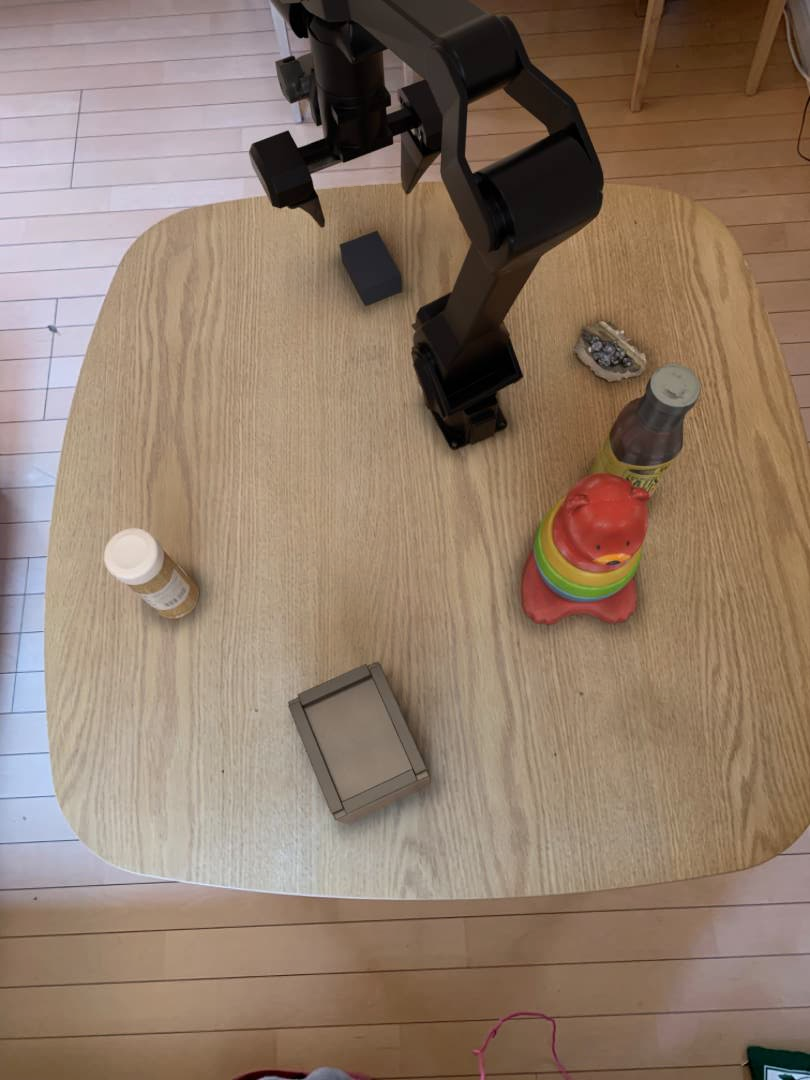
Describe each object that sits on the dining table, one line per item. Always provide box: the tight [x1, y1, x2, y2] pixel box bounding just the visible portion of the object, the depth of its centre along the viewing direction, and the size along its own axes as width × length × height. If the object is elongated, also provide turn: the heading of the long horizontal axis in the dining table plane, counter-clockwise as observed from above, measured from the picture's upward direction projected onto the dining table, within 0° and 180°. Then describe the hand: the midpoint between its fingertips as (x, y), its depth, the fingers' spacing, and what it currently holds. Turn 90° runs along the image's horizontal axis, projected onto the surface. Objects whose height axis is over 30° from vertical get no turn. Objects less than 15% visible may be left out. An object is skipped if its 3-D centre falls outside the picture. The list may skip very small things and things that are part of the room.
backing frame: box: [287, 661, 431, 825], centre depth 71 cm, size 10×8×11 cm
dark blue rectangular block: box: [339, 230, 403, 307], centre depth 93 cm, size 6×4×3 cm
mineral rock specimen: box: [571, 320, 648, 383], centre depth 89 cm, size 7×8×2 cm
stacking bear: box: [520, 473, 651, 626], centre depth 73 cm, size 11×10×18 cm
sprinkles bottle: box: [103, 527, 200, 620], centre depth 76 cm, size 5×5×13 cm
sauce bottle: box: [588, 363, 702, 498], centre depth 75 cm, size 7×6×20 cm
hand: (363, 207), depth 84 cm, fingers open, 9 cm apart
